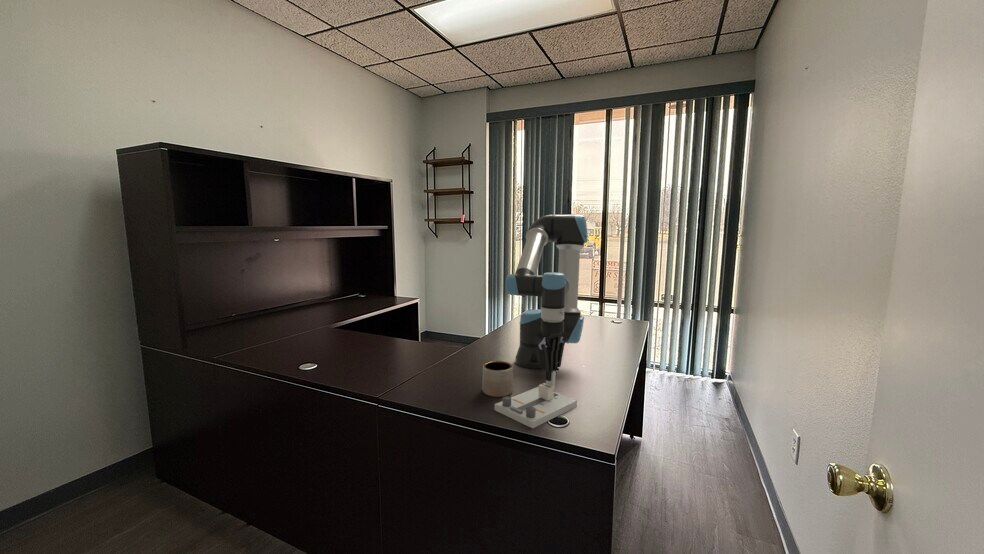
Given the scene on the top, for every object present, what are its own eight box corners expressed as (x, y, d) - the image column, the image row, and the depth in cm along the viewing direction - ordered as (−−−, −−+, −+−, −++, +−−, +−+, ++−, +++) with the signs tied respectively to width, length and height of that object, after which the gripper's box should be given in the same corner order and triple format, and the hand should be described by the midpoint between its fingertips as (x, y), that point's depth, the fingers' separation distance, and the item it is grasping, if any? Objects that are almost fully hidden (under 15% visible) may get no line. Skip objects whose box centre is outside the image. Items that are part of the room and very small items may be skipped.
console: (494, 410, 125) (494, 397, 124) (539, 391, 140) (539, 380, 139) (532, 428, 113) (533, 414, 113) (576, 406, 128) (577, 394, 128)
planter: (481, 386, 144) (481, 360, 143) (510, 385, 145) (511, 360, 144) (483, 398, 134) (483, 371, 132) (514, 397, 134) (515, 370, 133)
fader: (538, 396, 130) (538, 384, 129) (544, 394, 132) (544, 382, 131) (547, 400, 127) (548, 388, 127) (553, 398, 129) (553, 386, 129)
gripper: (549, 324, 121) (547, 398, 124) (573, 319, 130) (571, 387, 132) (530, 320, 126) (529, 391, 129) (555, 315, 135) (553, 381, 138)
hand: (550, 389), depth 131 cm, fingers closed
